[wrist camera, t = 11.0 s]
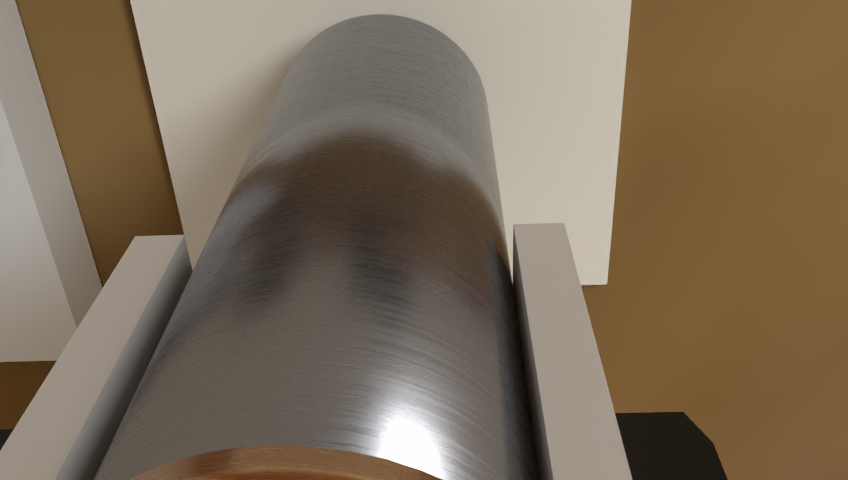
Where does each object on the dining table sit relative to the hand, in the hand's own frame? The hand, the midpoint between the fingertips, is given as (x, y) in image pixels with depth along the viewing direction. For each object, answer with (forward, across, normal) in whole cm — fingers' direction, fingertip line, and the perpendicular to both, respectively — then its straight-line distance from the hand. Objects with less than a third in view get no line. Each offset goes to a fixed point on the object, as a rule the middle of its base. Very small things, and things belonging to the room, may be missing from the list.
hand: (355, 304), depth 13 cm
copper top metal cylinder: (+8, 0, 0) cm, 8 cm away
